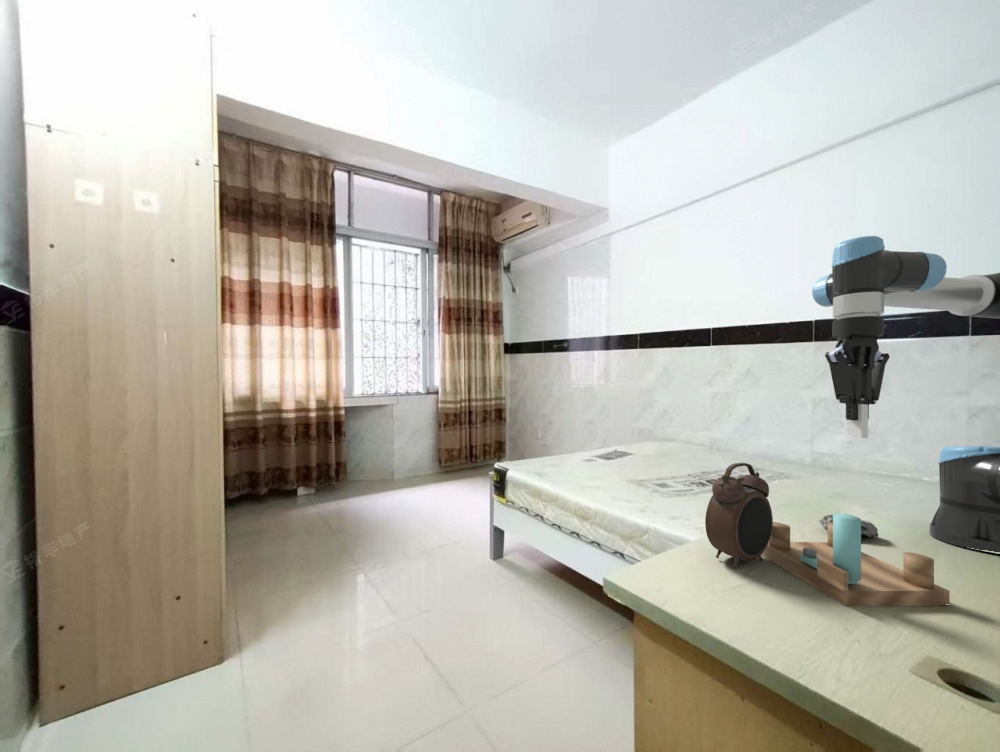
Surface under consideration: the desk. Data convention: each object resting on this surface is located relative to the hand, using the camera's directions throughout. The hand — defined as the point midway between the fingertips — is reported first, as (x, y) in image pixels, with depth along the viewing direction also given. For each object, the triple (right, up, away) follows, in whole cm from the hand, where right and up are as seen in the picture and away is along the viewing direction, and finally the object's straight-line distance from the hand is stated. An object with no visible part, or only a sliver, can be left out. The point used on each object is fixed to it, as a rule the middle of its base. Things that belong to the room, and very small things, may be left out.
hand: (857, 437), depth 77 cm
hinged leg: (-11, -23, -7) cm, 27 cm away
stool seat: (-5, -26, -2) cm, 27 cm away
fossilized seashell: (+15, -28, +19) cm, 37 cm away
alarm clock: (-21, -26, +3) cm, 34 cm away
